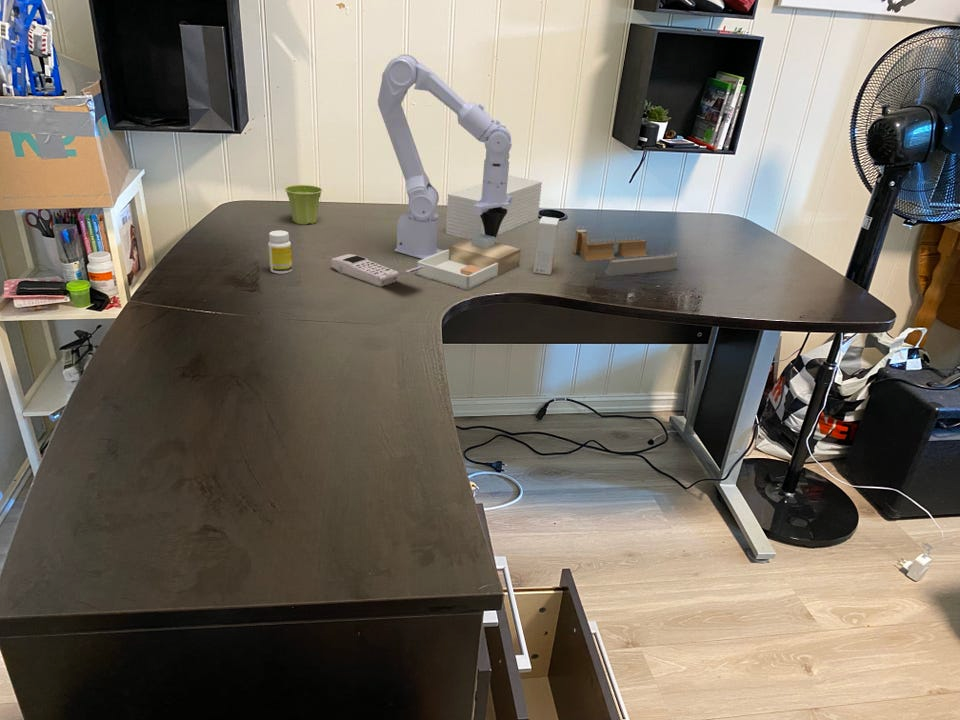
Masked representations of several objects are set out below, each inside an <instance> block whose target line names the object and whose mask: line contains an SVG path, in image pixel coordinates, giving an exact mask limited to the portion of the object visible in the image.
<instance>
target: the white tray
mask: <svg viewBox="0 0 960 720" xmlns="http://www.w3.org/2000/svg"><path fill="white" fill-rule="evenodd" d="M421 265H424V268H421V269H418V270H415V275H416V276H419V275H420V276H419V277H423V278H426V279H428V280H432V279H433V281H435V280H436V281H435V282H438V281H439V283H442V284H445V283H446V284H445V285H448V284H450V285H449V286H452V285H453V287H455V286H456V288H458V287H459V288H458V289H462V290H465V289H466V290H465V291H469V289H470V290H472V289H474V288H476V287H478V286H480V285H483V284H484V283H486V282H488V281H490V280H492V279H494V278H496V277H498V276H497V273H498V263H495V264H492V265H490V266H488V267H486V268H484V269H482V270H479V271H477V272H475V273H473V274H471V275H469V276H467V275H464V274H460V270H461V269H462V268H464V267H466V266H468V265H464V264H461V263H457V262H453V261H450V249H445V250H444V251H442V252H440V253H437V254H435V255H432V256H430V257H427V258H425V259H420V260H417V261H416V262H415V267H418V266H421ZM495 276H496V277H495ZM493 277H494V278H493ZM491 278H492V279H491ZM485 281H486V282H485ZM483 282H484V283H483ZM479 284H480V285H479Z"/></svg>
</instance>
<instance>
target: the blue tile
mask: <svg viewBox="0 0 960 720" xmlns="http://www.w3.org/2000/svg"><path fill="white" fill-rule="evenodd" d="M495 242H496V239H495V237H493V236H489V235H485V234H478V235H476V236H473V237H472V242H471V245H472V246H476V247H480V248H483V249H487V248H489V247H492V246H494V245H495Z"/></svg>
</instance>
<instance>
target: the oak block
mask: <svg viewBox="0 0 960 720" xmlns="http://www.w3.org/2000/svg"><path fill="white" fill-rule="evenodd" d="M471 242H472V238H471V239H465V240H464V241H461V242H459V243H456V244H454V245H451V246H450V257H449V260H450V261H453V262H457V263H461V264H464V265H468V266H469V265H473V266H477V267H481V268H486V267H488V266H490V265H492V264H495V263H498V273H497V276H496V277H498V276H500V275H502V274H504V273H506V272H508V271H510V270H512V268H513V269H514V267H515V268H517V267H519V266H520V260H521V250H522V249H521V248H518V247H514V246H511V245H506V244H503V243H498V242H496V241H495V245H494V246H492V247H489V248H487V249H483V248H480V247H476V246H472V245H471Z"/></svg>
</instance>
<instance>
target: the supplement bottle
mask: <svg viewBox="0 0 960 720" xmlns="http://www.w3.org/2000/svg"><path fill="white" fill-rule="evenodd" d="M268 235H269V237H268V238H269V241H268V242H267V245H268V246H267V247H268V261H269V263H268V264H269V269H270V270H269V271H270V272H272V273H274V274H278V275H279V274H280V275H284V274H289V273H291V272H292V271H293V257H292V256H293V255H292V242H291V241H290V235H289V232H288V231H285V230H281V229H280V230H272V231H270V232H269V233H268Z"/></svg>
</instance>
